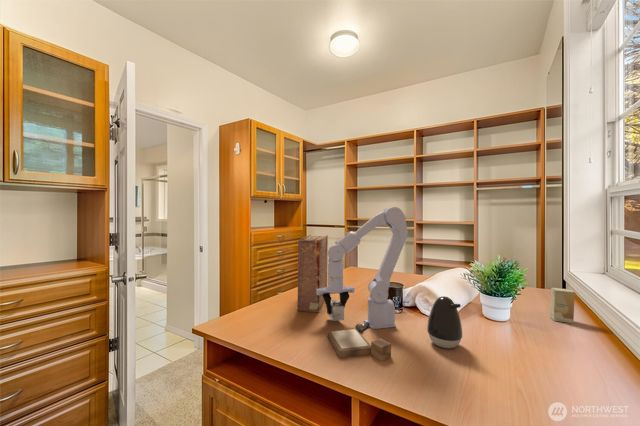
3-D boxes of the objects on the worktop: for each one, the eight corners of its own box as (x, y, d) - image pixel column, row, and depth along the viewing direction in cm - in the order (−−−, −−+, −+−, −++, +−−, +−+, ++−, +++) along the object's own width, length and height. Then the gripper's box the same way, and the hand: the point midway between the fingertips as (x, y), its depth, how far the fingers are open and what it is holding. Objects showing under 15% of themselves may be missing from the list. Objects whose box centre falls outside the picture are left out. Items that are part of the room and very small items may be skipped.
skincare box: (553, 321, 106) (554, 289, 106) (549, 317, 110) (549, 287, 110) (574, 323, 104) (575, 291, 104) (569, 319, 108) (569, 289, 108)
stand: (356, 334, 93) (356, 327, 93) (372, 354, 80) (372, 346, 80) (327, 337, 90) (327, 330, 90) (339, 358, 78) (339, 350, 78)
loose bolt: (364, 325, 100) (364, 318, 100) (370, 326, 99) (370, 319, 99) (355, 331, 96) (355, 323, 96) (362, 332, 94) (361, 325, 94)
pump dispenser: (448, 356, 80) (448, 304, 79) (420, 340, 89) (420, 294, 89) (470, 348, 84) (470, 299, 84) (441, 334, 93) (442, 290, 93)
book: (309, 293, 139) (309, 234, 139) (327, 294, 137) (327, 235, 137) (297, 311, 114) (298, 239, 114) (319, 313, 112) (319, 240, 112)
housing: (337, 312, 107) (337, 298, 107) (344, 319, 100) (344, 304, 100) (327, 313, 106) (327, 299, 106) (332, 320, 99) (332, 305, 99)
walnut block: (380, 351, 82) (380, 338, 82) (390, 357, 79) (391, 343, 79) (371, 355, 80) (371, 341, 80) (381, 361, 76) (381, 347, 76)
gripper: (350, 273, 108) (349, 307, 109) (314, 275, 105) (314, 310, 105) (356, 277, 102) (356, 313, 102) (318, 279, 98) (318, 317, 98)
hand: (335, 312), depth 103 cm, fingers closed on housing, 4 cm apart
